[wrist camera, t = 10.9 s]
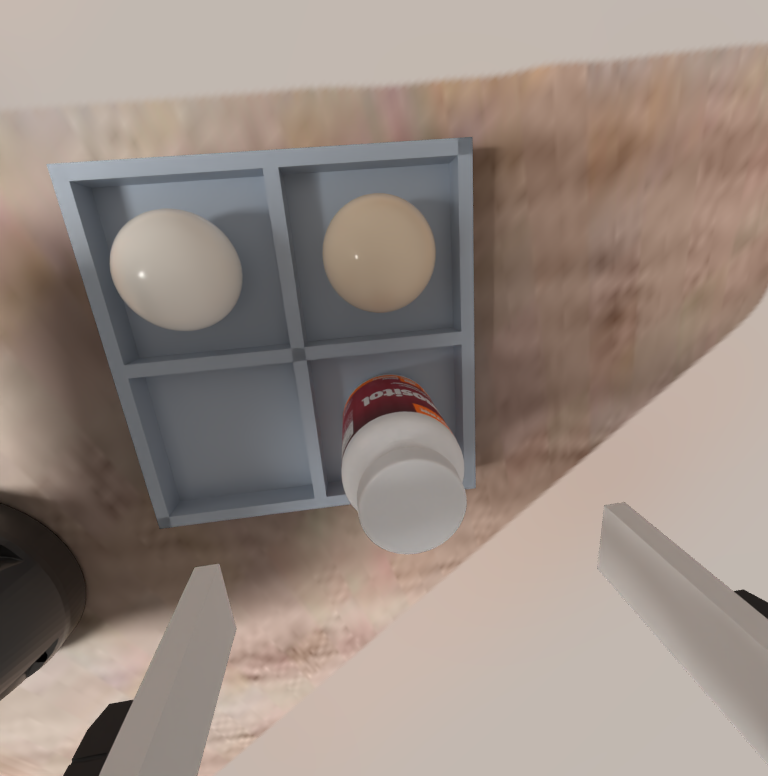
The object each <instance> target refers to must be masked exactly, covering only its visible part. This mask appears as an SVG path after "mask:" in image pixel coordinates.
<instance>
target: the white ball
mask: <svg viewBox="0 0 768 776" xmlns="http://www.w3.org/2000/svg"><path fill="white" fill-rule="evenodd" d="M110 271H111V276H112V279H113V282H114V285H115V287H116V289H117V291H118V293H119V294H120V296H121V298H122V299H123V300H124V301H125V303H126V304H127V305H128V306H129V307H130V308H131V309H132V310H133V311H134V312H135V313H136V314H138V315H139V316H140V317H142V318H143V319H145V320H146V321H148V322H150V323H152V324H154V325H157V326H159V327H162V328H165V329H170V330H176V331H195V330H200V329H204V328H207V327H210V326H212V325H214V324H216V323H217V322H219V321H221V320H222V319H223V318H224V317H226V316H227V315H228V314H229V313H230V312H231V310H232V309H233V308H234V306H235V305H236V303H237V301H238V298H239V296H240V293H241V289H242V282H243V274H242V267H241V263H240V259H239V257H238V254H237V252H236V250H235V248H234V246H233V245H232V243H231V242H230V240H229V239H228V238H227V236H226V235H225V234H224V233H223V232H222V231H221V230H220V229H219V228H218V227H217V226H215V225H214V224H213V223H211V222H210V221H208V220H206V219H205V218H203V217H201V216H199V215H197V214H194V213H192V212H188V211H184V210H179V209H172V208H162V209H155V210H151V211H147V212H144V213H142V214H140V215H137V216H136V217H134V218H133V219H131V220H130V221H128V222H127V223H126V224H125V225H124V226H123V227H122V228H121V230H120V231H119V232H118V234H117V236H116V237H115V239H114V242H113V245H112V248H111V253H110Z"/></svg>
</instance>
